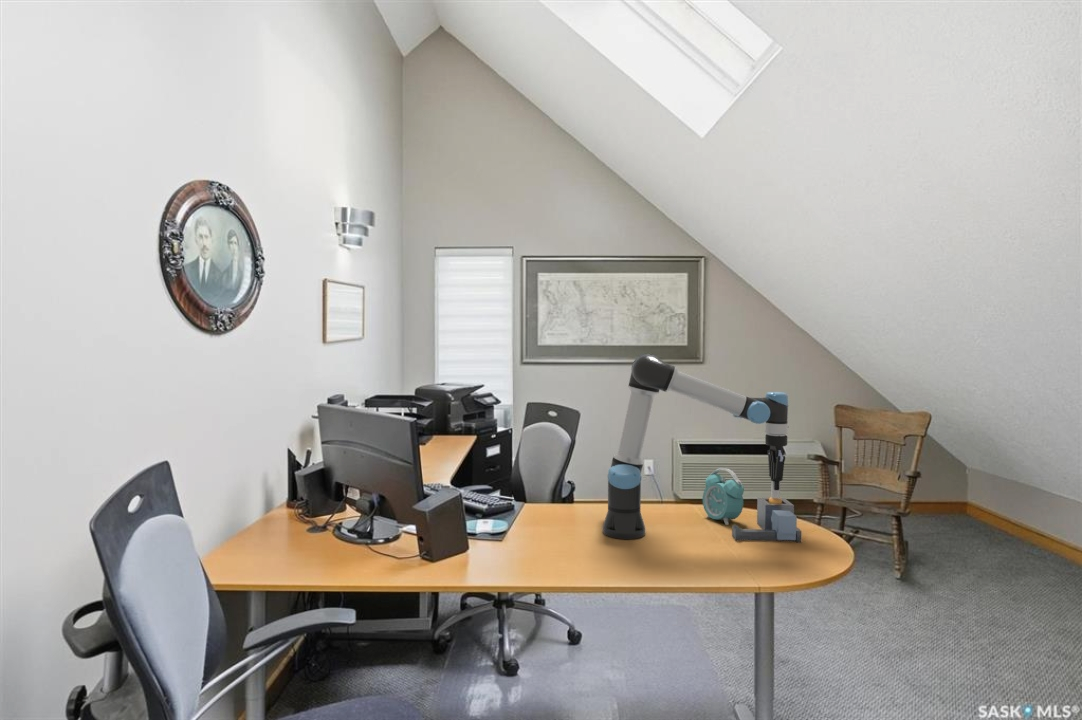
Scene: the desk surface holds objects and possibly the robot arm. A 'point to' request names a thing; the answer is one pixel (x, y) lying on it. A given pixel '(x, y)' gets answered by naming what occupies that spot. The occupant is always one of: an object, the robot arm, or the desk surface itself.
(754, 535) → the rail
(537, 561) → the desk surface
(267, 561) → the desk surface
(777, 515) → the block
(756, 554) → the desk surface
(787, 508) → the cabinet
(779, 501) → the button
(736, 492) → the alarm clock
